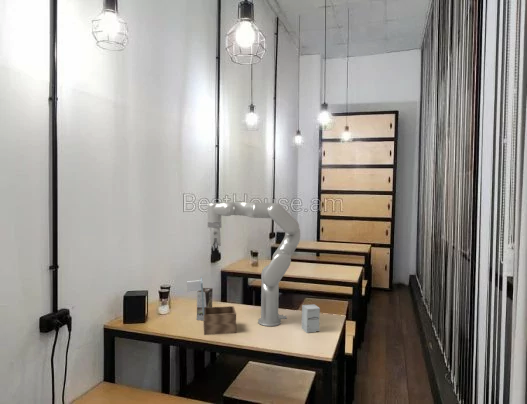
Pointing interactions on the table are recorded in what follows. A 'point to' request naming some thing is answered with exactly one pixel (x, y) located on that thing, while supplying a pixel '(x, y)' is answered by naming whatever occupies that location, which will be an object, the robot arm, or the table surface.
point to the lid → (196, 288)
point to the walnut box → (219, 320)
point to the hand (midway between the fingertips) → (215, 256)
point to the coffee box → (207, 301)
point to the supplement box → (310, 318)
